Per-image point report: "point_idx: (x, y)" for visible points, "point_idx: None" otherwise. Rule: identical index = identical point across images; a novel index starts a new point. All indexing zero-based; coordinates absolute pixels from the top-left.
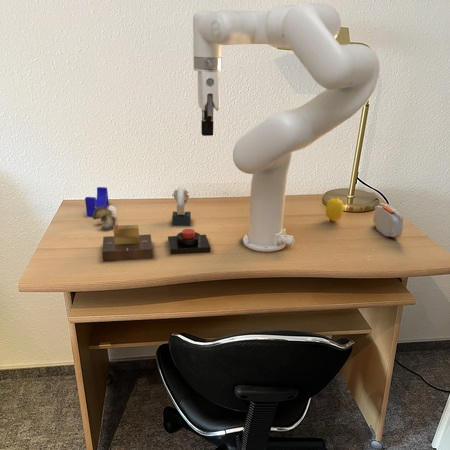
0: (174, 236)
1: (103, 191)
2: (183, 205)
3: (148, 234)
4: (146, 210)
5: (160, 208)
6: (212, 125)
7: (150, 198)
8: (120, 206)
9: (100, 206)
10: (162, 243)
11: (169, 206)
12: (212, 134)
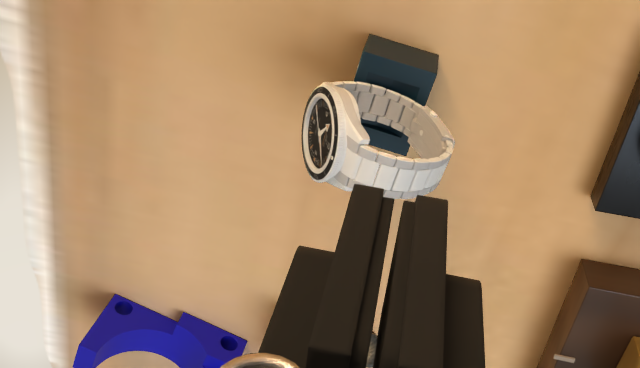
0: (610, 186)
1: (101, 350)
2: (451, 144)
3: (587, 293)
4: (191, 186)
5: (171, 126)
6: (439, 316)
7: (35, 136)
8: (135, 263)
9: (216, 361)
10: (595, 219)
11: (146, 81)
12: (446, 213)
